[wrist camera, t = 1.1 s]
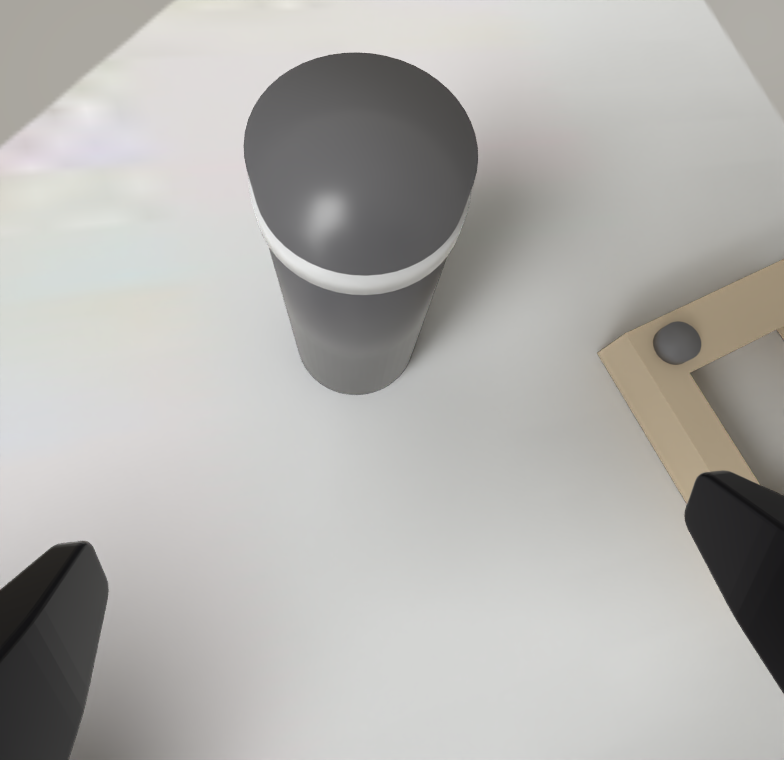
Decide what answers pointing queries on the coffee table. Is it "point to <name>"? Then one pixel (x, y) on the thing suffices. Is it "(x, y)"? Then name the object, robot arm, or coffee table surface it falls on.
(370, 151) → the canister
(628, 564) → the coffee table surface
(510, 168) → the coffee table surface
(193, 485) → the coffee table surface
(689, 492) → the tan square frame
